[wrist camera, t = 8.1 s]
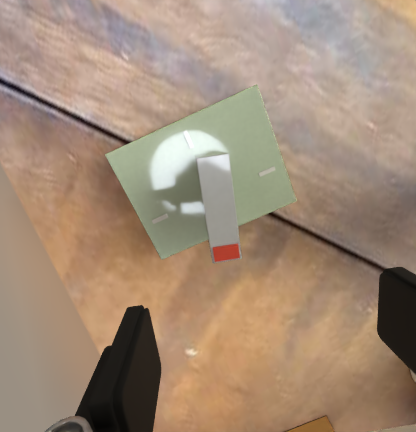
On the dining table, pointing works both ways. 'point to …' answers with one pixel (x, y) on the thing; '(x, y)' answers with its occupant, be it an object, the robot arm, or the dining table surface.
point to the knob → (218, 205)
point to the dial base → (187, 172)
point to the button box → (315, 426)
